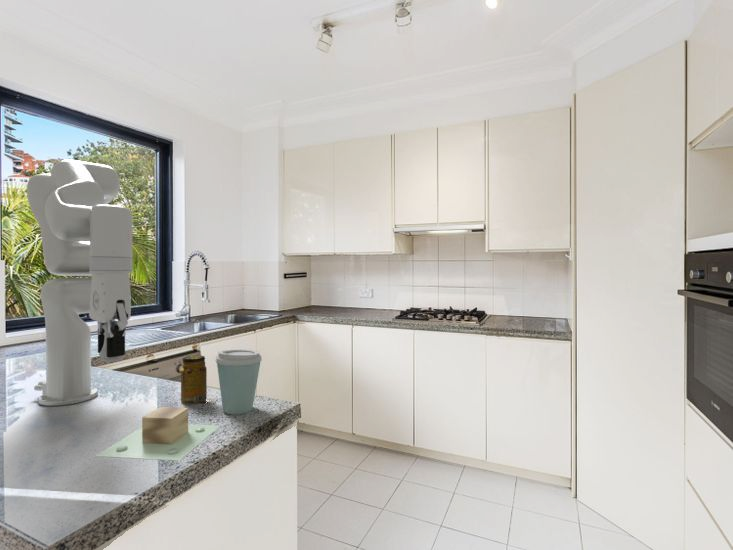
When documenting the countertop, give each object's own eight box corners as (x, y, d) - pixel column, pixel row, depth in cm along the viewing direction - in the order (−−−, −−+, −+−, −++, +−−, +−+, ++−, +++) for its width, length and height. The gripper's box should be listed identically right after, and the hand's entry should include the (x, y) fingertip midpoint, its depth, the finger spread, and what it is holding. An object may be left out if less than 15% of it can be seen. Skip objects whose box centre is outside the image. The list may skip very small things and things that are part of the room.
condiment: (184, 399, 107) (184, 354, 107) (218, 399, 108) (218, 353, 108) (174, 409, 100) (174, 360, 100) (210, 408, 101) (210, 360, 101)
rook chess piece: (101, 358, 86) (101, 320, 86) (125, 357, 88) (125, 319, 87) (95, 363, 82) (95, 323, 82) (121, 361, 83) (121, 322, 83)
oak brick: (142, 443, 79) (142, 417, 79) (160, 430, 85) (160, 406, 85) (171, 444, 78) (171, 418, 78) (188, 431, 84) (188, 407, 84)
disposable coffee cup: (235, 403, 105) (235, 344, 104) (270, 408, 101) (271, 348, 101) (204, 417, 95) (205, 352, 95) (242, 424, 91) (243, 356, 91)
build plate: (94, 460, 73) (94, 454, 73) (149, 425, 89) (149, 420, 89) (179, 465, 72) (179, 458, 72) (220, 429, 88) (220, 424, 88)
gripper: (77, 265, 87) (77, 350, 87) (105, 266, 76) (105, 364, 76) (116, 265, 92) (116, 345, 93) (147, 267, 82) (147, 358, 82)
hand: (111, 353), depth 85 cm, fingers closed on rook chess piece, 4 cm apart
